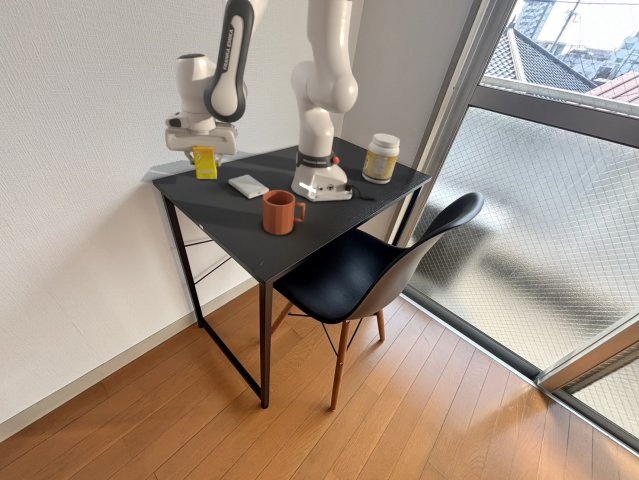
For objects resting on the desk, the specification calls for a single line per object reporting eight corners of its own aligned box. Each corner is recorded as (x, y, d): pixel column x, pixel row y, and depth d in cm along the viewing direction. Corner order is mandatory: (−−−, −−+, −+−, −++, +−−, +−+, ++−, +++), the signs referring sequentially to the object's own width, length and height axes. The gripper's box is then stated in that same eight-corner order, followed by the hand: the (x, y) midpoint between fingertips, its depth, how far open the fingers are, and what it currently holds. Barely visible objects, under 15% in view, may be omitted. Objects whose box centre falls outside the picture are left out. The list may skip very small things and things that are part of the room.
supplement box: (198, 173, 91) (193, 140, 85) (217, 173, 93) (213, 141, 86) (197, 181, 87) (191, 147, 80) (217, 181, 89) (213, 148, 82)
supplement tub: (362, 169, 120) (371, 130, 109) (389, 174, 119) (401, 135, 109) (360, 181, 110) (370, 139, 100) (390, 187, 109) (403, 145, 99)
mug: (262, 234, 76) (262, 205, 70) (263, 217, 82) (263, 189, 77) (304, 235, 78) (307, 207, 72) (302, 218, 84) (304, 191, 79)
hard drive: (228, 179, 95) (248, 194, 88) (248, 174, 100) (269, 188, 93) (228, 183, 96) (248, 199, 89) (248, 178, 101) (269, 192, 94)
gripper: (237, 120, 83) (240, 163, 92) (165, 113, 80) (174, 158, 88) (235, 126, 78) (238, 171, 87) (158, 119, 75) (169, 167, 83)
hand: (205, 165), depth 88 cm, fingers closed on supplement box, 6 cm apart
